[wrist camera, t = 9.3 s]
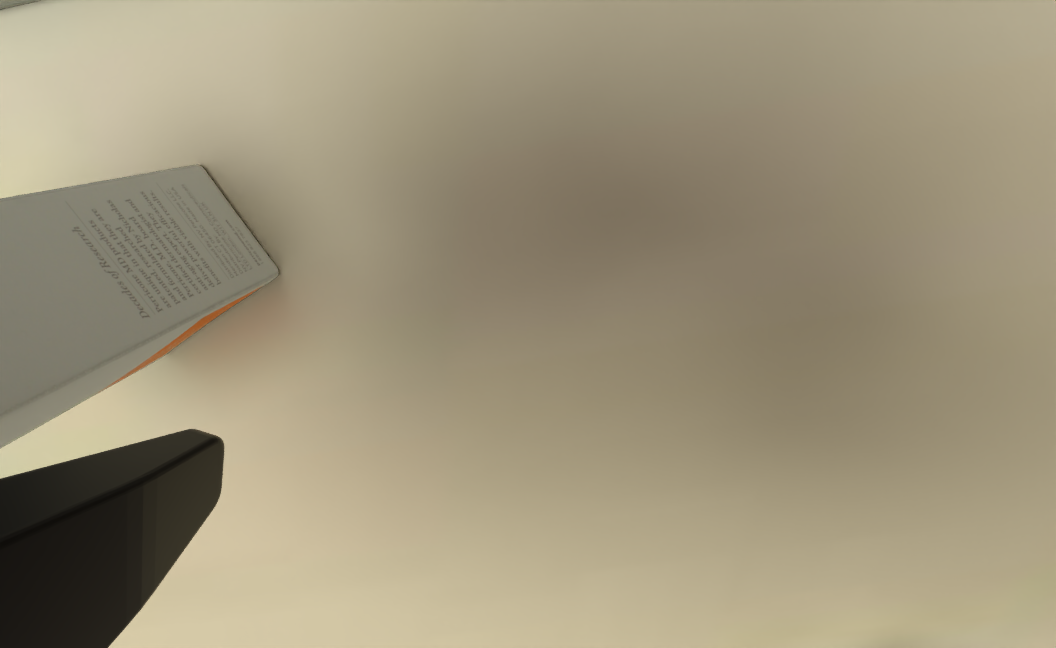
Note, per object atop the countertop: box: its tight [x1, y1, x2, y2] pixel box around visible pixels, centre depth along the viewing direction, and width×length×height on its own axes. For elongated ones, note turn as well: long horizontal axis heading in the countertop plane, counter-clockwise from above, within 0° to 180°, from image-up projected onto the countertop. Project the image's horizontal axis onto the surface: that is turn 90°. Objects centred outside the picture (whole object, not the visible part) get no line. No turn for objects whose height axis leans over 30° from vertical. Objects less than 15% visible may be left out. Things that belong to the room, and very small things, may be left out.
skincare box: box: [0, 165, 279, 448], centre depth 16 cm, size 6×4×12 cm
